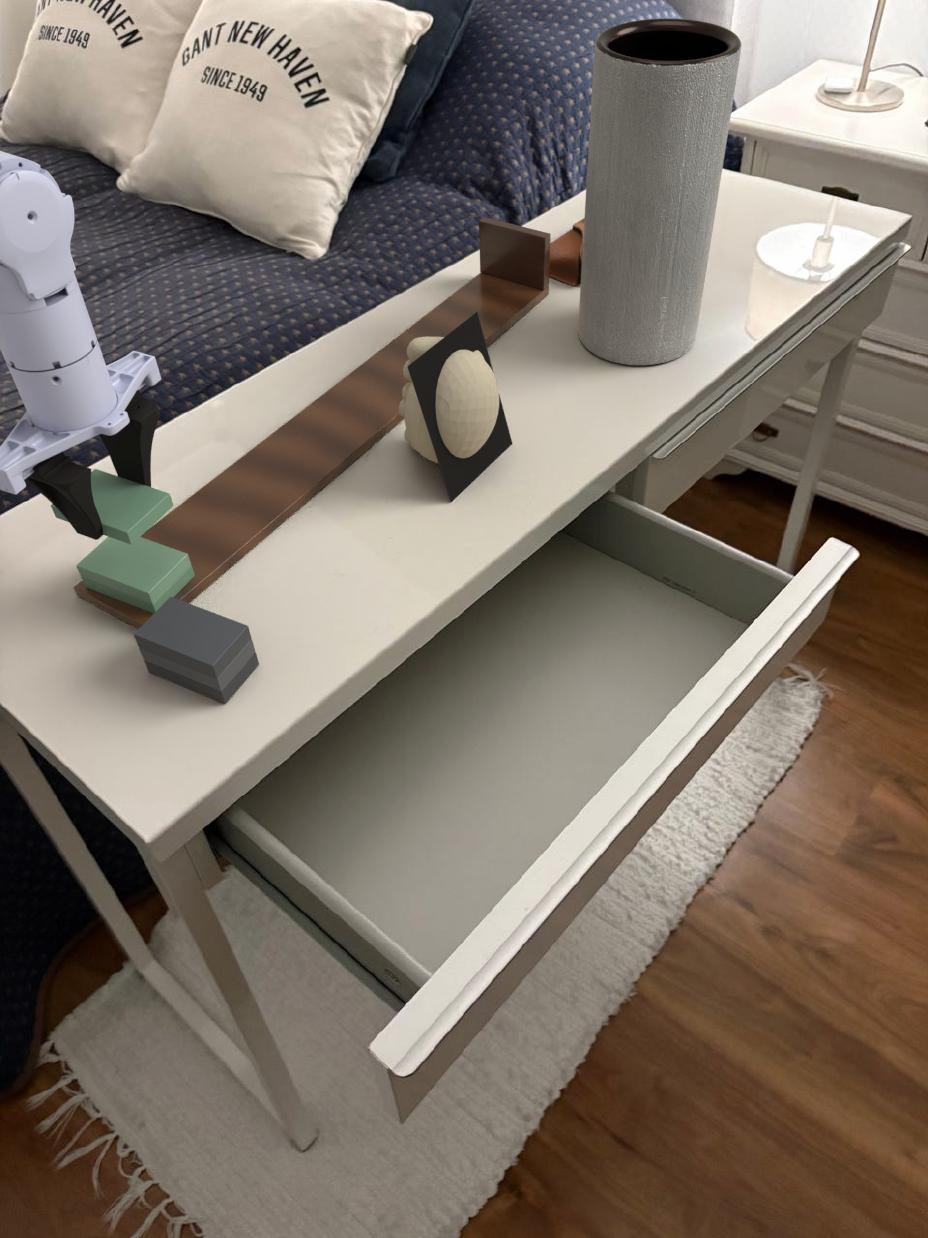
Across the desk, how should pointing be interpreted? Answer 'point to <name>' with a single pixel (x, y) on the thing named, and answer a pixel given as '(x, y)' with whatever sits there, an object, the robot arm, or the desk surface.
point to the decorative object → (454, 404)
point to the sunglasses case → (567, 256)
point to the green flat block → (136, 572)
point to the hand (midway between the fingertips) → (114, 512)
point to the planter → (653, 184)
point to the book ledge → (336, 423)
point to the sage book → (125, 506)
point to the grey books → (197, 649)
